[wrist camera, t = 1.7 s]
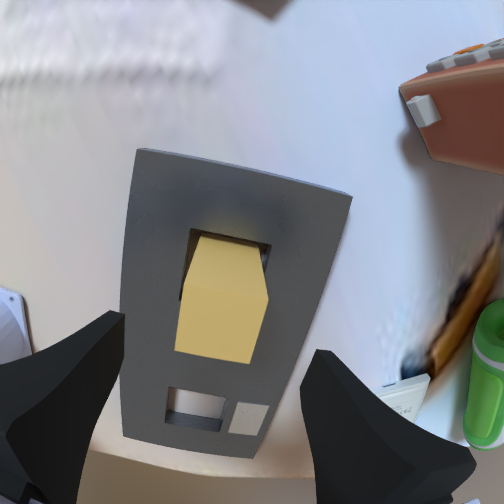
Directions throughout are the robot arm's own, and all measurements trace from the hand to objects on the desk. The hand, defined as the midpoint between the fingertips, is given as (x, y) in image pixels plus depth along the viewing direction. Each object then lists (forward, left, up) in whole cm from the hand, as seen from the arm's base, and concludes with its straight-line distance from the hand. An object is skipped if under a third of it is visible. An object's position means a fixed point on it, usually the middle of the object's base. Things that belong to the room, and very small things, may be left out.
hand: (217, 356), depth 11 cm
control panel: (+14, +16, -9) cm, 23 cm away
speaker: (+28, -6, -9) cm, 30 cm away
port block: (0, -6, -9) cm, 11 cm away
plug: (0, 0, -9) cm, 9 cm away
